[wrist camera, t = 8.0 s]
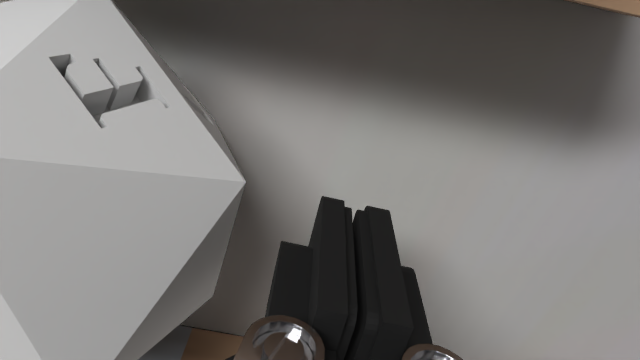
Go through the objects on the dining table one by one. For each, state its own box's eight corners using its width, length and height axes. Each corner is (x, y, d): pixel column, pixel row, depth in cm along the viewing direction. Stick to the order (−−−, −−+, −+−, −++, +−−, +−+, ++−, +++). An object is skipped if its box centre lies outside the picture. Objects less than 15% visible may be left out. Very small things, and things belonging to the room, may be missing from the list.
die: (287, 235, 16) (357, 205, 7) (62, 406, 14) (-269, 694, 5) (148, 49, 16) (34, -224, 7) (-93, 192, 14) (-699, 72, 5)
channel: (642, -37, 12) (780, -31, 8) (439, 393, 19) (465, 500, 15) (-107, -220, 10) (-339, -310, 7) (-25, 313, 17) (-118, 408, 14)
